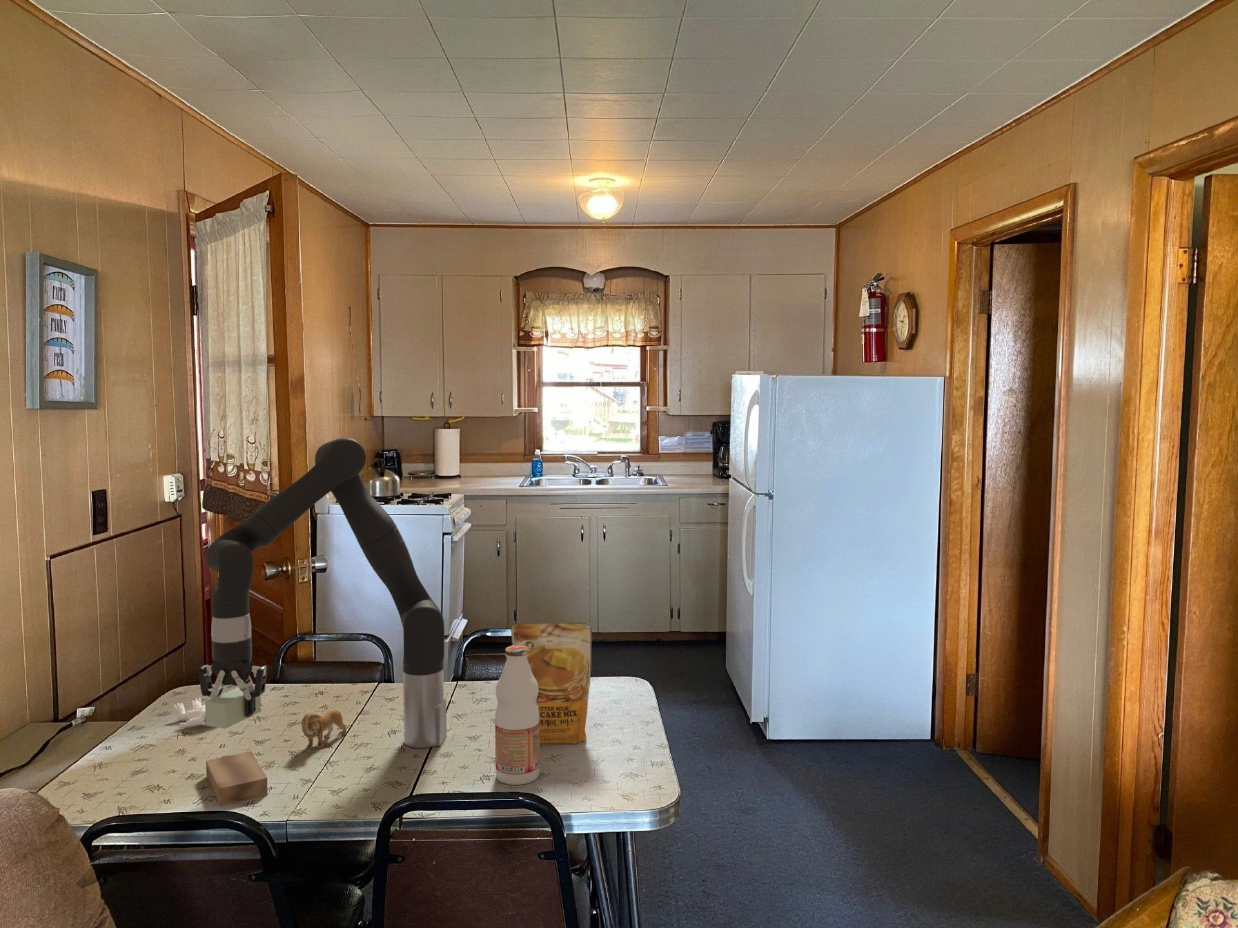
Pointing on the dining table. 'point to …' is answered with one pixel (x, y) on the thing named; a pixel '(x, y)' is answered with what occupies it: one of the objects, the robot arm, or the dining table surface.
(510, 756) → the fruit juice
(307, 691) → the dining table surface
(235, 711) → the sage brick
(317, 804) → the dining table surface
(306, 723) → the lion figurine
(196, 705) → the toy creature
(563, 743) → the pancake mix bag
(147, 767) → the dining table surface
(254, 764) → the walnut brick
